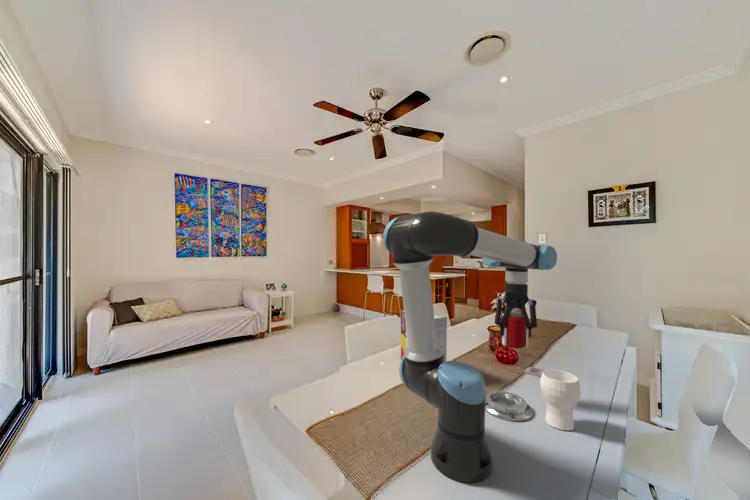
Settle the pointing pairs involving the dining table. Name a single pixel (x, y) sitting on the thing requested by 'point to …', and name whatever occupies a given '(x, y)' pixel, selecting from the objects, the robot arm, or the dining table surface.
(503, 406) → the flange
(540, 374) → the remote control
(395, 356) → the dining table surface
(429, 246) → the robot arm
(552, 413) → the cup
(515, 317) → the beverage can
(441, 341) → the snack box
